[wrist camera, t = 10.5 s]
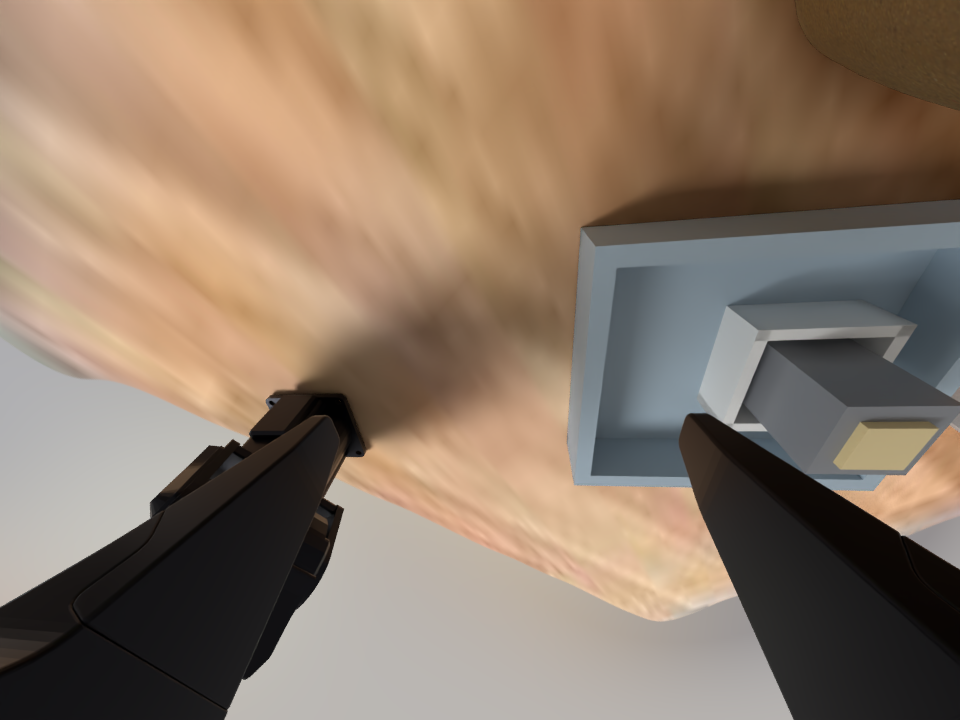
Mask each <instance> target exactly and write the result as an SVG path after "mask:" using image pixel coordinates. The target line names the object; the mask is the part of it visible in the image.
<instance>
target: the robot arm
mask: <svg viewBox="0 0 960 720" xmlns="http://www.w3.org/2000/svg"><path fill="white" fill-rule="evenodd" d="M339 400H340V401H339ZM266 404H267V406H268V407H269V409H270V410H269V411H268V412H267V413H266V414H265V415H264V417H263V418H262V419H261V420H260V421H259V422H258V423H257V424H256V425H255V426H254V427H253V428H252V429H251V431H250V433H249V435H250V436H251V437H250V438H249V440H247V442H246V443H245V444H244V445H243V446H242V447H241V446H240V443H238V442H236V441H235V440H231V441H230V442H229V443H228V444H227V445H226V446H225V447H222V446H220V447H219V446H210V445H209V446H208V447H207V448H206V449H205V450H204V451H203V452H202V453H201V454H200V455H199V456H198V457H197V458H196V459H195V460H194V461H193V462H192V463H191V464H190V465H189V466H188V467H187V468H186V469H185V470H184V471H182V472H181V473H180V474H179V475H178V476H177V477H176V478H175V479H174V480H173V481H172V482H171V483H170V484H169V485H168V486H167V487H165V488H164V489H163V490H162V491H161V492H160V493H159V494H158V495H157V496H156V497H155V498H154V499H153V500H152V501H151V502H150V519H149V520H147V521H146V522H144V523H143V524H141V525H139V526H138V527H137V528H135V529H133V530H131V531H130V532H128V533H126V534H125V535H124V536H122V537H120V538H119V539H117V540H115V541H114V542H112V543H110V544H108V545H107V546H105V547H103V548H102V549H100V550H98V551H97V552H95V553H93V554H91V555H90V556H88V557H86V558H85V559H83V560H81V561H79V562H78V563H76V564H74V565H73V566H71V567H69V568H67V569H66V570H64V571H62V572H61V573H59V574H57V575H55V576H54V577H52V578H50V579H48V580H47V581H45V582H43V583H41V584H40V585H38V586H36V587H35V588H33V589H31V590H29V591H27V592H26V593H24V594H22V595H20V596H19V597H17V598H15V599H14V600H12V601H10V602H8V603H7V604H5V605H3V606H1V607H0V720H224V719H225V717H226V714H227V709H228V708H229V707H230V705H231V703H232V700H233V698H234V696H235V694H236V691H237V689H238V687H239V685H240V682H241V680H242V679H243V680H245V679H247V678H248V677H250V676H251V675H253V674H254V672H256V670H258V669H259V668H260V667H261V666H262V665H263V664H264V663H265V662H266V661H267V660H268V659H269V658H270V656H271V655H272V653H273V651H274V649H275V647H276V645H277V643H278V641H279V639H280V637H281V635H282V633H283V631H284V629H285V627H286V626H287V624H288V622H289V620H290V618H291V616H292V615H293V613H294V611H295V610H296V609H298V608H299V607H300V606H301V605H302V604H303V603H304V602H305V601H306V600H307V598H308V597H309V596H310V595H311V593H312V592H313V591H314V589H315V588H316V586H317V585H318V583H319V581H320V580H321V578H322V576H323V574H324V572H325V570H326V568H327V566H328V563H329V560H330V557H331V553H332V550H333V546H334V542H335V539H336V535H337V532H338V528H339V525H340V521H341V518H342V514H343V511H344V508H342V507H340V506H339V505H334V504H333V503H331V502H330V501H328V500H326V499H325V498H324V496H325V494H326V492H327V491H328V489H329V487H330V485H331V483H332V482H333V480H334V478H335V476H336V474H337V472H338V471H339V469H340V467H341V465H342V463H343V462H344V460H345V458H346V457H363V456H364V454H365V452H366V448H365V445H364V443H363V440H362V438H361V435H360V432H359V430H358V427H357V425H356V422H355V419H354V417H353V414H352V411H351V409H350V406H349V404H348V401H347V399H346V397H345V396H344V395H342V394H296V395H270V396H269V397H268V398H267V399H266ZM679 448H680V451H681V455H682V458H683V461H684V464H685V467H686V470H687V473H688V476H689V479H690V483H691V486H692V489H693V492H694V495H695V498H696V501H697V504H698V507H699V509H700V512H701V514H702V516H703V519H704V521H705V523H706V525H707V528H708V530H709V532H710V534H711V537H712V539H713V541H714V543H715V546H716V548H717V550H718V552H719V554H720V557H721V559H722V561H723V563H724V566H725V568H726V570H727V572H728V574H729V577H730V579H731V581H732V583H733V586H734V588H735V590H736V592H737V594H738V597H739V599H740V601H741V603H742V606H743V608H744V610H745V612H746V614H747V617H748V619H749V621H750V623H751V626H752V628H753V630H754V632H755V635H756V637H757V639H758V641H759V643H760V646H761V648H762V650H763V652H764V655H765V657H766V659H767V661H768V663H769V666H770V668H771V670H772V672H773V674H774V677H775V679H776V681H777V683H778V685H779V688H780V690H781V692H782V695H783V697H784V699H785V701H786V703H787V706H788V708H789V710H790V712H791V715H792V717H793V719H794V720H960V569H958V568H956V567H955V566H953V565H951V564H950V563H948V562H946V561H945V560H943V559H942V558H940V557H938V556H937V555H935V554H933V553H932V552H930V551H929V550H927V549H925V548H924V547H922V546H920V545H919V544H917V543H916V542H914V541H913V540H911V539H909V538H908V537H906V536H901V535H900V533H899V532H898V531H896V530H895V529H893V528H891V527H890V526H888V525H887V524H885V523H883V522H882V521H880V520H879V519H877V518H875V517H874V516H872V515H871V514H869V513H867V512H866V511H864V510H863V509H861V508H859V507H858V506H856V505H854V504H853V503H851V502H850V501H848V500H846V499H845V498H843V497H842V496H840V495H838V494H837V493H835V492H834V491H832V490H830V489H829V488H827V487H826V486H824V485H822V484H821V483H819V482H818V481H816V480H814V479H813V478H811V477H809V476H808V475H806V474H805V473H803V472H801V471H800V470H798V469H797V468H795V467H793V466H792V465H790V464H789V463H787V462H785V461H784V460H782V459H781V458H779V457H777V456H776V455H774V454H773V453H771V452H769V451H768V450H766V449H765V448H763V447H761V446H760V445H758V444H756V443H755V442H753V441H752V440H750V439H748V438H747V437H745V436H744V435H742V434H740V433H739V432H737V431H736V430H734V429H732V428H731V427H729V426H728V425H726V424H724V423H723V422H721V421H720V420H718V419H716V418H715V417H713V416H711V415H710V414H707V413H689V414H687V415H686V417H685V420H684V423H683V426H682V429H681V432H680V436H679Z"/></svg>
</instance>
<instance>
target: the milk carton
mask: <svg viewBox="0 0 960 720" xmlns="http://www.w3.org/2000/svg"><path fill="white" fill-rule="evenodd" d="M951 397H952V398H953V399H955V400H957V401H958V402H960V387H959V388H958V389H957V390H956V392H955V393H954V394H953V395H952V396H951ZM950 426H951V427H953V428H954V429H955V430H957V431H958V432H960V413H959V414H958V415H957V417H956V418H955V419H954V420H953V421H952V422H951V423H950Z"/></svg>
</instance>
